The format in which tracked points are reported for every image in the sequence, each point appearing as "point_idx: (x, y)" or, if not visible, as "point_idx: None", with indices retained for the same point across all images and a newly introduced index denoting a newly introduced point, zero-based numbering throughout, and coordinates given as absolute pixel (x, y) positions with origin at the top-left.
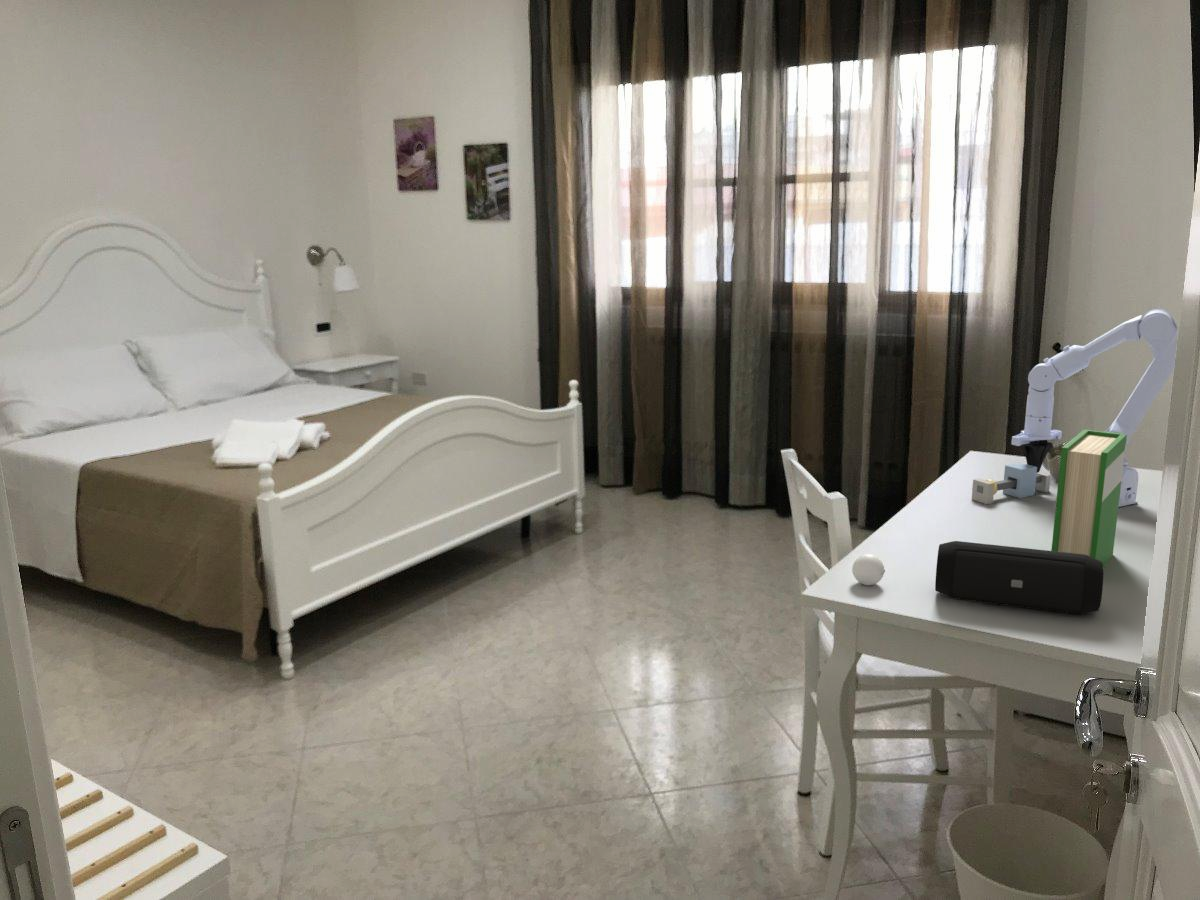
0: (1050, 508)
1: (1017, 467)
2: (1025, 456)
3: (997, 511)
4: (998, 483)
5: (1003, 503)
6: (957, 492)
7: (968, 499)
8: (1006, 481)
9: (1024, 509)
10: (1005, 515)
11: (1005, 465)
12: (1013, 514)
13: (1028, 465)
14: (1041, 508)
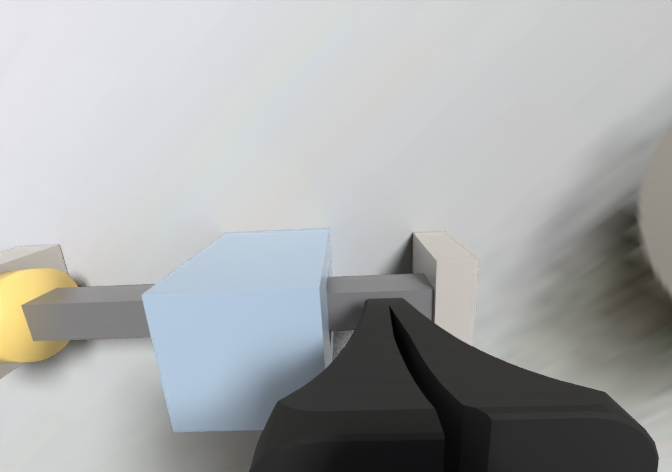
0: (249, 454)
1: (185, 381)
2: (345, 346)
3: (35, 401)
4: (74, 335)
5: (123, 343)
6: (18, 119)
7: (8, 237)
8: (145, 325)
9: (150, 425)
10: (37, 441)
11: (143, 297)
12: (72, 445)
13: (305, 378)
14: (218, 441)
